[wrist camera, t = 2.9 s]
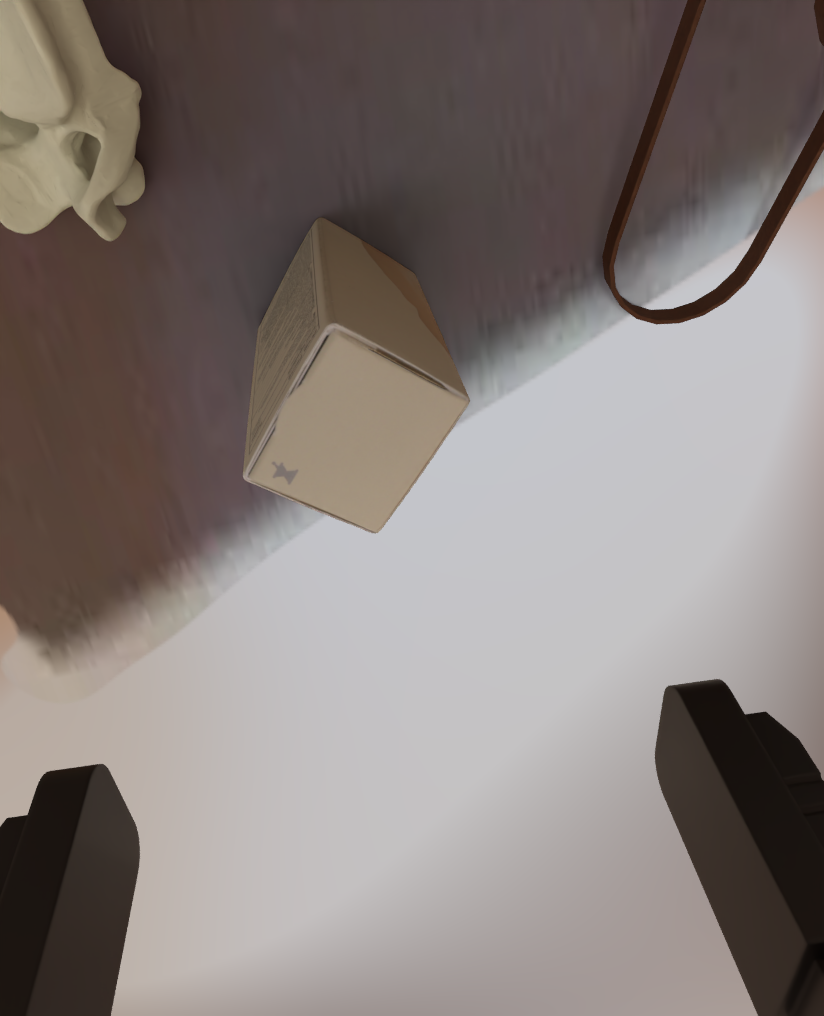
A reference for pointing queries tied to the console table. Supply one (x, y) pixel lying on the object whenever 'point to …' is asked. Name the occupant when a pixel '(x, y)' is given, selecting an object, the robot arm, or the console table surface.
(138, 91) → the bone
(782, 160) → the console table surface
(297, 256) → the box
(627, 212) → the brown looped piece
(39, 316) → the console table surface
